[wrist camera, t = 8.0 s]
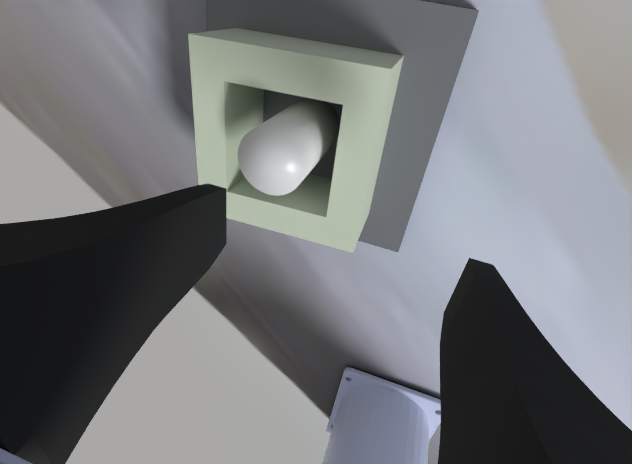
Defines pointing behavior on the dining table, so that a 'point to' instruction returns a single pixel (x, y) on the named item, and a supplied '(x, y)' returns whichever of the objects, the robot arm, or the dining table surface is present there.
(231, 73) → the collar
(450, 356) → the robot arm
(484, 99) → the dining table surface
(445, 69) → the post stand
